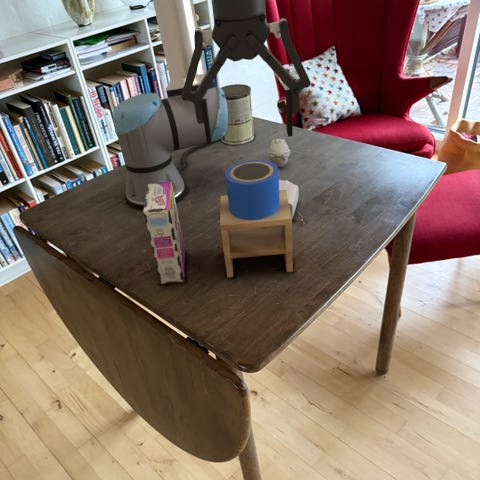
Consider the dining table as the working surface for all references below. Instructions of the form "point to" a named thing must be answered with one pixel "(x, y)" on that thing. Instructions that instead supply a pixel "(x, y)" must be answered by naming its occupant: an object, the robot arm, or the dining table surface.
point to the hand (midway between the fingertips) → (249, 137)
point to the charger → (290, 194)
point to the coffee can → (238, 114)
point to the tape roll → (253, 189)
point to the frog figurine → (278, 152)
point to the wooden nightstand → (256, 234)
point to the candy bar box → (165, 232)
